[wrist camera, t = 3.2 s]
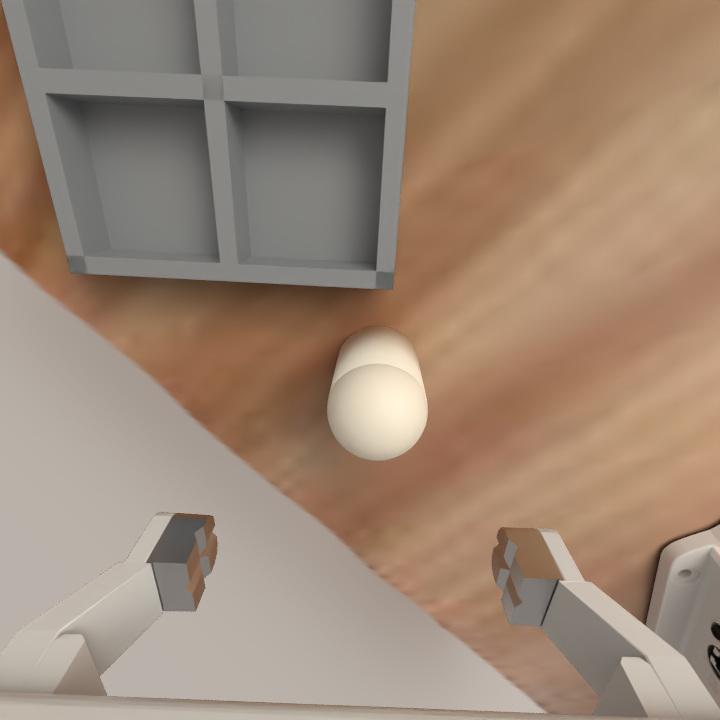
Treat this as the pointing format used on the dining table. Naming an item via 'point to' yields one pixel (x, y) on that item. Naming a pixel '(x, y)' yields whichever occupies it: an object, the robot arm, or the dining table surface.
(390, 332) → the wooden egg
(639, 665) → the robot arm
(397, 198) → the egg carton
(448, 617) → the dining table surface
